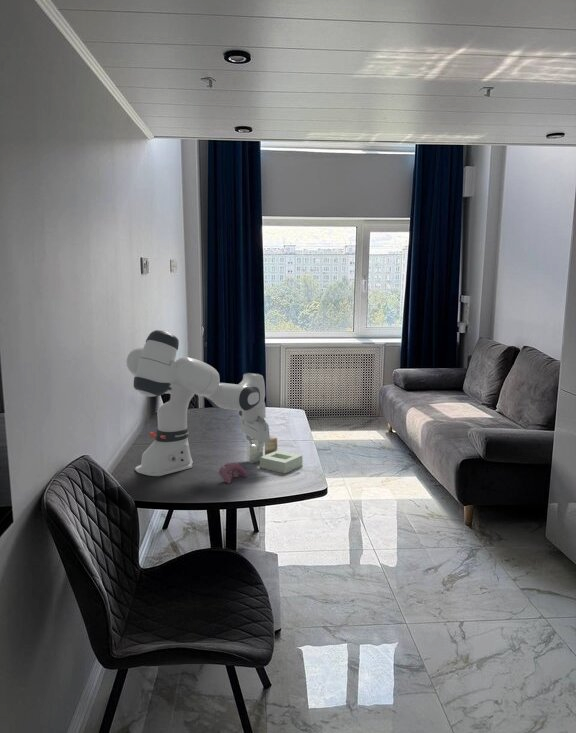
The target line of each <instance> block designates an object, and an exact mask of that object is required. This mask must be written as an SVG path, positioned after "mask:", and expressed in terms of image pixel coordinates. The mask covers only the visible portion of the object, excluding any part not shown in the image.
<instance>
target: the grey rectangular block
mask: <svg viewBox="0 0 576 733" xmlns="http://www.w3.org/2000/svg"><path fill="white" fill-rule="evenodd" d="M258 445H259V444H258V441H257V440H255V439H253V438H252V439H246V449H247V452H246V454H247V456H246V458H247V462H248V463H249V462H250V463H249V464H252V462H254V463H258V462H257V461H260V457H262V456H264V455H263V454H264V450H263V451H262V452H259V451H257V447H258Z"/></svg>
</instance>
